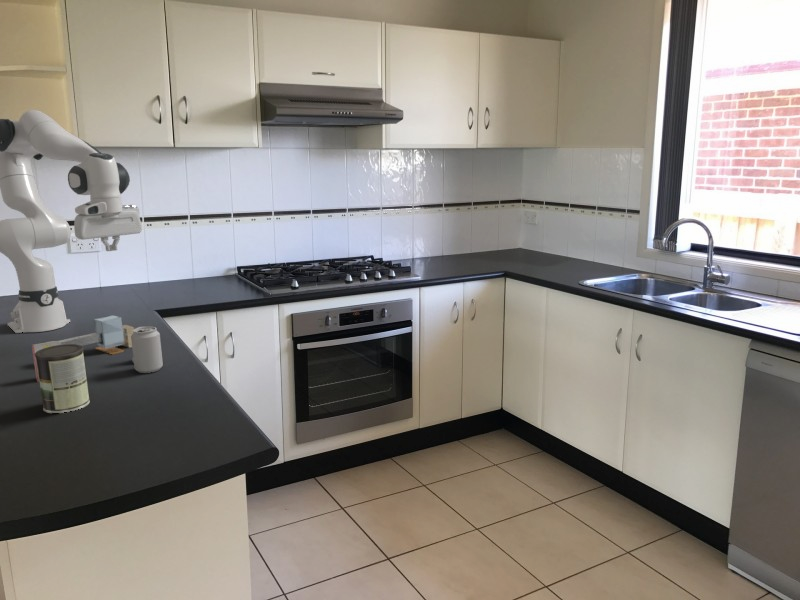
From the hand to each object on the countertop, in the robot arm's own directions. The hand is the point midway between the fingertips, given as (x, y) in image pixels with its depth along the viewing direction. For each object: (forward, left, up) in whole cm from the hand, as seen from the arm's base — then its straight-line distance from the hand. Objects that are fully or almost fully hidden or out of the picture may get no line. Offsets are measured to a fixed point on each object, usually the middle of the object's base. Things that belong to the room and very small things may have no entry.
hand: (111, 250), depth 209 cm
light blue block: (+6, -7, -28) cm, 30 cm away
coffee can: (+43, -37, -30) cm, 65 cm away
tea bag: (+18, -30, -30) cm, 46 cm away
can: (+34, -10, -30) cm, 47 cm away
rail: (+6, -12, -30) cm, 33 cm away
